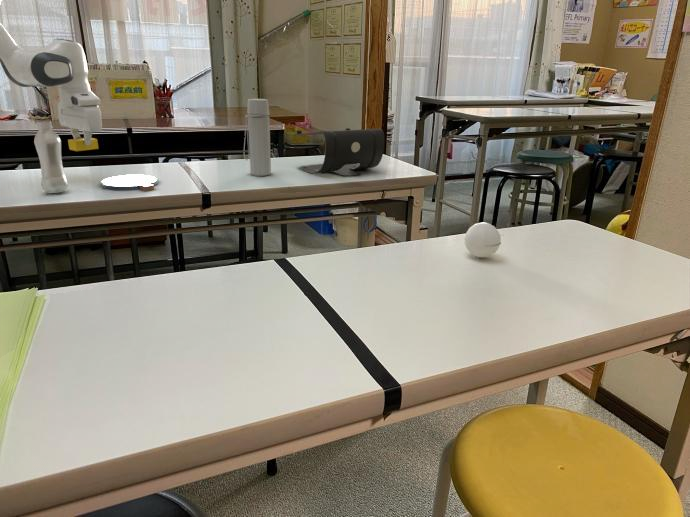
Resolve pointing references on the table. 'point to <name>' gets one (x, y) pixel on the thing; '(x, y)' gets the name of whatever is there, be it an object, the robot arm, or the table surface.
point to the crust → (146, 187)
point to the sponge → (82, 144)
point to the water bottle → (258, 137)
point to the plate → (127, 182)
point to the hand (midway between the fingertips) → (83, 143)
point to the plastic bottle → (50, 158)
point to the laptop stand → (349, 151)
